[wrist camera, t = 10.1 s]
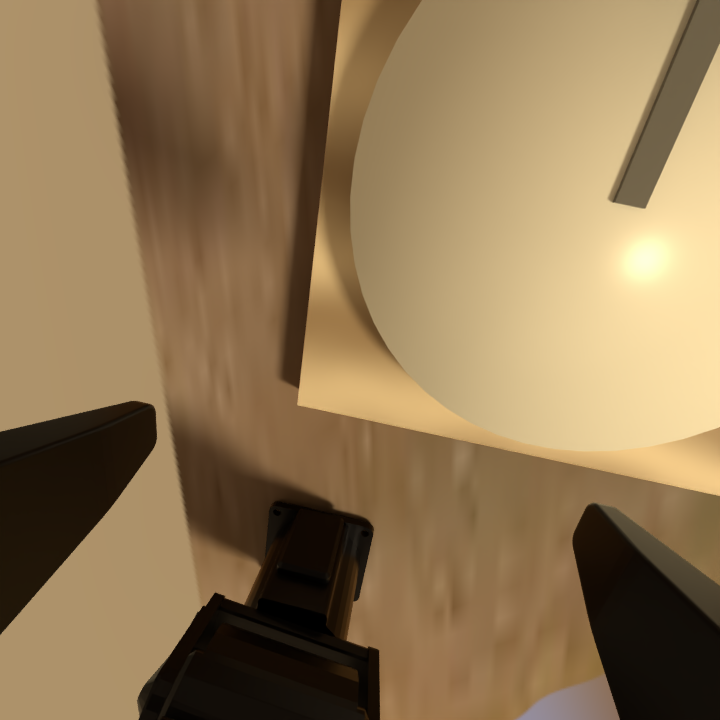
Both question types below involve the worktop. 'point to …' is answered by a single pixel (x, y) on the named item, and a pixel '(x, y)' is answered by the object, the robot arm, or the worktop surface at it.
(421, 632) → the worktop surface
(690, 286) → the dial
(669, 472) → the base plate
